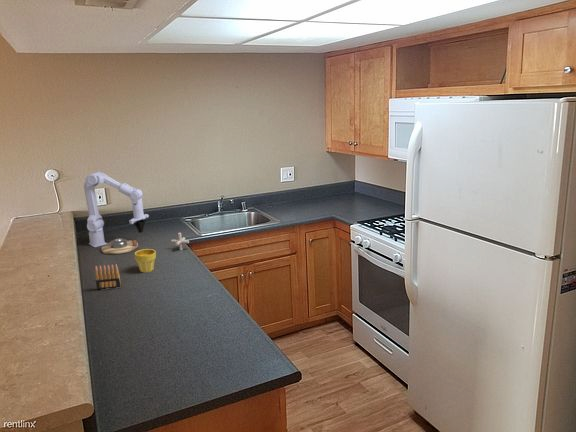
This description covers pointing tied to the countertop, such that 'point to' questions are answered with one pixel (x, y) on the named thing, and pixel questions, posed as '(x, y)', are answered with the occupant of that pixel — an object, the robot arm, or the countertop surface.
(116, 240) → the cover
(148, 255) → the plant pot
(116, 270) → the ammunition clip
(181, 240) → the pipe connector
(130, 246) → the beige round shallow disc
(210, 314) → the countertop surface
